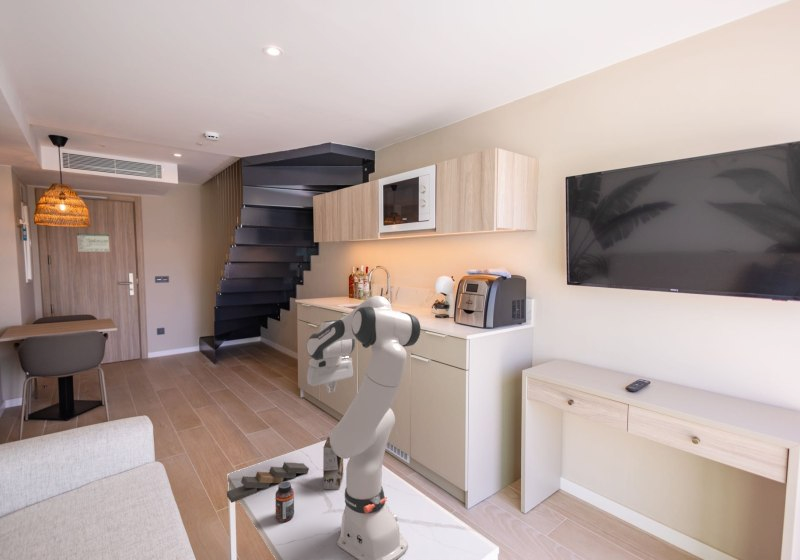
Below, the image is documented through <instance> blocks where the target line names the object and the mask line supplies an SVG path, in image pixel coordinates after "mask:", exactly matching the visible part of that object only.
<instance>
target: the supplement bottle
mask: <svg viewBox="0 0 800 560" xmlns="http://www.w3.org/2000/svg"><path fill="white" fill-rule="evenodd" d="M277 488H278V489H277V490H276V491H275V496H274V497H275V498H274V499H275V520H277V521H278V522H281V523H283V522H284V523H286V522H288V521H290V520H291V519H293V517H294V515H295V492H294V488H293V487H292V484H291V482H290V481H288V480H287V481H282V482H281V483H278V487H277Z"/></svg>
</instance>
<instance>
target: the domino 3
mask: <svg viewBox="0 0 800 560" xmlns="http://www.w3.org/2000/svg"><path fill="white" fill-rule="evenodd" d="M254 477H256V479H257V480H258V481H259V482H260V483H270V484H280V483H281V482H284V481H283V480H284V478H274V477H273V476H272V475H271V474H270V472H269V471H256V472H255V476H254Z"/></svg>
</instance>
